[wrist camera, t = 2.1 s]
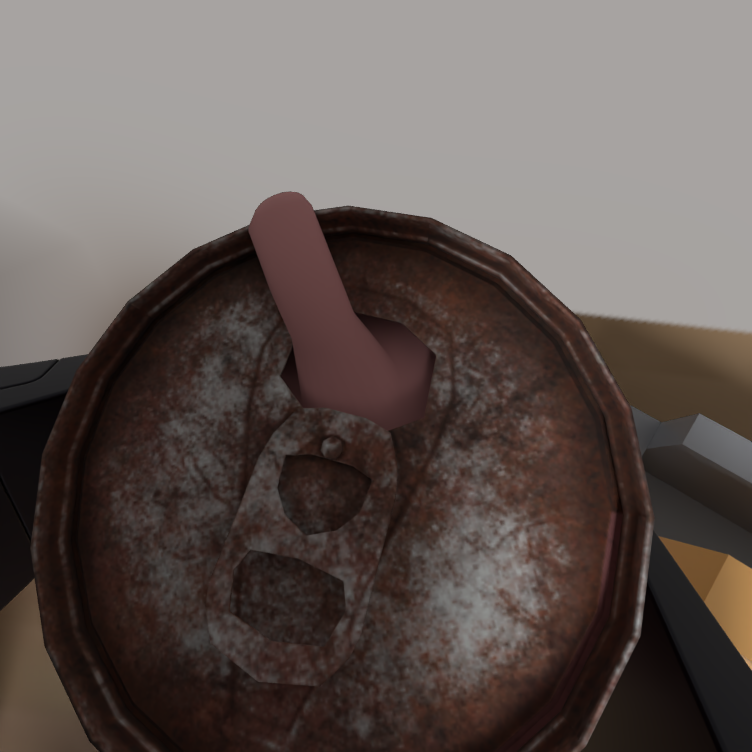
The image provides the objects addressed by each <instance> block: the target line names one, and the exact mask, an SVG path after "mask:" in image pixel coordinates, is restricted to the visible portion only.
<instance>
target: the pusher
mask: <svg viewBox="0 0 752 752" xmlns="http://www.w3.org/2000/svg"><path fill="white" fill-rule="evenodd" d="M658 537H659V538H660V540H661V541H662V542H663V544H664V545H665V547H666V548H667V550H668V551H669V552H670V554H671V555H672V557H673V558H674V560H675V561H676V563H677V564H678V565H679V567H680V568H681V570H682V571H683V573H684V574H685V575H686V577H687V578H688V580H689V581H690V583H691V584H692V585H693V587H694V588H695V590H696V591H697V593H698V594H699V596H700V597H701V598H702V600H703V601H704V603H705V604H706V606H707V607H708V608H709V610H710V611H711V613H712V614H713V616H714V617H715V618H716V620H717V621H718V623H719V624H720V626H721V627H722V628H723V630H724V631H725V633H726V634H727V636H728V637H729V639H730V640H731V641H732V643H733V644H734V646H735V647H736V649H737V650H738V651H739V653H740V654H741V656H742V657H743V659H744V660H745V661H746V663H747V664H748V666H749V667H750V669H751V670H752V569H751V568H750V567H748V566H746V565H745V564H743V563H742V562H740V561H738V560H737V559H735V558H733V557H732V556H730V555H728V554H724V553H720V552H717V551H713V550H709V549H705V548H702V547H698V546H694V545H690V544H687V543H683V542H679V541H675V540H671V539H668V538H664V537H660V536H658Z"/></svg>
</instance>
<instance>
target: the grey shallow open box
mask: <svg viewBox="0 0 752 752" xmlns="http://www.w3.org/2000/svg"><path fill="white" fill-rule="evenodd" d="M630 407H631V408H632V412H633V417H634V422H635V426H636V431H637V436H638V441H639V446H640V450H641V455H642V460H643V465H644V470H645V474H646V479H647V484H648V489H649V494H650V498H651V503H652V508H653V513H654V518H655V519H654V527H653V530H654V531H655V532H656V534H657V535H658V536H660V537H664V538H668V539H671V540H675V541H679V542H683V543H687V544H690V545H694V546H698V547H702V548H705V549H709V550H713V551H717V552H720V553H724V554H728V555H730V556H732V557H733V558H735V559H737V560H738V561H740V562H742V563H743V564H745V565H746V566H748V567H750V568H751V569H752V442H751V441H750V440H748V439H746V438H744V437H742V436H740V435H739V434H737V433H735V432H733V431H731V430H729V429H727V428H726V427H724V426H722V425H720V424H718V423H716V422H714V421H713V420H711V419H709V418H707V417H705V416H703V415H702V414H700V413H699V414H694V415H690V416H686V417H682V418H678V419H673V420H669V421H665V422H660V421H658V420H656V419H654V418H653V417H651V416H649V415H647V414H645V413H644V412H642V411H640V410H638V409H636V408H635V407H633V406H630Z"/></svg>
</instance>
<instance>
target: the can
mask: <svg viewBox="0 0 752 752" xmlns="http://www.w3.org/2000/svg"><path fill="white" fill-rule="evenodd" d="M654 519H655V518H654V513H653V508H652V503H651V498H650V494H649V489H648V484H647V479H646V474H645V470H644V465H643V460H642V455H641V450H640V446H639V441H638V436H637V431H636V426H635V422H634V417H633V412H632V408H631V407H630V405H629V403H628V401H627V400H626V398H625V396H624V394H623V393H622V391H621V389H620V387H619V386H618V384H617V382H616V380H615V379H614V377H613V375H612V373H611V372H610V370H609V368H608V366H607V365H606V363H605V361H604V359H603V358H602V356H601V354H600V352H599V351H598V349H597V347H596V345H595V344H594V342H593V340H592V338H591V337H590V335H589V333H588V331H587V330H586V328H585V326H584V324H583V323H582V321H581V319H579V318H578V317H577V316H576V315H575V314H574V313H573V312H572V311H571V310H570V309H569V308H568V307H566V306H565V305H564V304H563V303H562V302H561V301H560V300H559V299H558V298H557V297H555V296H554V295H553V294H552V293H551V292H550V291H549V290H548V289H547V288H546V287H545V286H544V285H543V284H541V283H540V282H539V281H538V280H537V279H536V278H535V277H534V276H533V275H532V274H531V273H529V272H528V271H527V270H526V269H525V268H524V267H523V266H522V265H521V264H519V263H518V261H516V260H515V259H514V258H513V257H512V256H511V255H509V254H507V253H504V252H502V251H500V250H498V249H496V248H494V247H492V246H490V245H488V244H485V243H483V242H481V241H479V240H477V239H475V238H472V237H470V236H468V235H466V234H464V233H462V232H460V231H458V230H455V229H453V228H451V227H449V226H447V225H445V224H443V223H441V222H439V221H437V220H435V219H432V218H428V217H420V216H414V215H408V214H401V213H393V212H387V211H381V210H374V209H367V208H360V207H354V206H343V207H336V208H329V209H321V210H313V207H312V205H311V204H310V203H309V202H308V201H307V200H306V198H305V197H304V196H303V195H302V194H300V193H297V192H282V193H279V194H276V195H273V196H271V197H270V198H268V199H266V200H265V201H263V202H262V203H261V204H260V205H259V206H258V208H257V209H256V210H255V213H254V216H253V218H252V221H251V223H250V225H248V226H246V227H243V228H241V229H239V230H236V231H234V232H232V233H230V234H227V235H225V236H223V237H220V238H218V239H216V240H213V241H211V242H209V243H207V244H205V245H202V246H200V247H198V248H195V249H193V250H192V251H190V252H189V253H188V254H187V255H185V256H184V257H183V258H182V259H180V260H179V261H178V262H177V263H176V264H174V265H173V266H172V267H170V268H169V269H168V270H167V271H165V272H164V273H163V274H161V275H160V276H159V277H158V278H156V279H155V280H154V281H153V282H151V283H150V284H149V285H148V286H146V287H145V288H144V289H143V290H142V291H140V292H139V293H138V294H137V295H135V296H134V297H133V298H131V299H130V300H129V301H128V302H127V303H126V304H125V306H124V307H123V309H122V310H121V311H120V313H119V314H118V315H117V317H116V318H115V319H114V321H113V322H112V323H111V325H110V326H109V327H108V329H107V330H106V331H105V333H104V334H103V335H102V337H101V338H100V339H99V341H98V342H97V343H96V345H95V346H94V347H93V349H92V350H91V352H90V353H89V354H88V355H87V357H86V358H85V359H84V361H83V362H82V363H81V365H80V366H79V367H78V369H77V370H76V372H75V375H74V377H73V380H72V382H71V385H70V387H69V390H68V392H67V394H66V397H65V399H64V402H63V404H62V407H61V409H60V412H59V414H58V417H57V419H56V422H55V424H54V426H53V429H52V431H51V434H50V436H49V439H48V441H47V444H46V446H45V449H44V451H43V453H42V460H41V468H40V476H39V484H38V491H37V499H36V507H35V515H34V523H33V531H32V538H31V546H30V550H31V556H32V563H33V570H34V577H35V584H36V591H37V597H38V604H39V611H40V618H41V625H42V631H43V638H44V645H45V648H46V650H47V653H48V655H49V657H50V659H51V661H52V663H53V665H54V667H55V669H56V672H57V674H58V676H59V678H60V680H61V682H62V684H63V686H64V689H65V691H66V693H67V695H68V697H69V699H70V701H71V703H72V705H73V708H74V710H75V712H76V714H77V716H78V718H79V720H80V722H81V724H82V727H83V729H84V731H85V733H86V735H87V737H88V739H89V741H90V742H91V743H92V744H93V745H94V746H95V747H96V748H97V750H98V751H99V752H580V751H581V750H582V749H583V748H585V747H586V745H587V743H588V741H589V739H590V737H591V735H592V733H593V731H594V729H595V727H596V725H597V723H598V721H599V719H600V717H601V715H602V713H603V711H604V709H605V707H606V705H607V703H608V701H609V699H610V697H611V695H612V693H613V691H614V689H615V686H616V684H617V682H618V680H619V678H620V676H621V674H622V672H623V670H624V668H625V666H626V664H627V662H628V660H629V658H630V656H631V654H632V652H633V650H634V648H635V646H636V644H637V642H638V640H639V638H640V636H641V628H642V619H643V611H644V603H645V594H646V586H647V578H648V569H649V561H650V552H651V544H652V536H653V527H654Z"/></svg>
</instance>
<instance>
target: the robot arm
mask: <svg viewBox="0 0 752 752" xmlns="http://www.w3.org/2000/svg"><path fill="white" fill-rule="evenodd" d="M87 355H88V354H87ZM87 355H81V356H74V357H68V358H62V359H60V360H57V359H55V360H48V361H42V362H35V363H28V364H20V365H14V366H6V367H0V611H1V610H2V609H3V608H4V607H5V606H6V605H7V604H8V603H9V602H10V601H11V600H12V599H13V598H14V597H15V596H16V595H17V594H18V593H19V592H20V591H21V590H23V589H24V588H25V587H26V586H27V585H28V584H29V583H30V582H31V581H32V580H33V579H34V578H35V577H34V570H33V563H32V556H31V550H30V546H31V538H32V531H33V523H34V515H35V507H36V499H37V491H38V484H39V476H40V468H41V460H42V453H43V451H44V449H45V446H46V444H47V441H48V439H49V436H50V434H51V431H52V429H53V426H54V424H55V422H56V419H57V417H58V414H59V412H60V409H61V407H62V404H63V402H64V399H65V397H66V394H67V392H68V390H69V387H70V385H71V382H72V380H73V377H74V375H75V372H76V370H77V369H78V367H79V366H80V365H81V363H82V362H83V361H84V359H85V358H86V357H87ZM580 752H752V670H751V669H750V667H749V666H748V664H747V663H746V661H745V660H744V659H743V657H742V656H741V654H740V653H739V651H738V650H737V649H736V647H735V646H734V644H733V643H732V641H731V640H730V639H729V637H728V636H727V634H726V633H725V631H724V630H723V628H722V627H721V626H720V624H719V623H718V621H717V620H716V618H715V617H714V616H713V614H712V613H711V611H710V610H709V608H708V607H707V606H706V604H705V603H704V601H703V600H702V598H701V597H700V596H699V594H698V593H697V591H696V590H695V588H694V587H693V585H692V584H691V583H690V581H689V580H688V578H687V577H686V575H685V574H684V573H683V571H682V570H681V568H680V567H679V565H678V564H677V563H676V561H675V560H674V558H673V557H672V555H671V554H670V552H669V551H668V550H667V548H666V547H665V545H664V544H663V542H662V541H661V540H660V538H659V537H658V535H657V534H656V532H655V531H654V530H653V536H652V544H651V552H650V561H649V569H648V578H647V586H646V594H645V603H644V611H643V619H642V628H641V636H640V638H639V640H638V642H637V644H636V646H635V648H634V650H633V652H632V654H631V656H630V658H629V660H628V662H627V664H626V666H625V668H624V670H623V672H622V674H621V676H620V678H619V680H618V682H617V684H616V686H615V689H614V691H613V693H612V695H611V697H610V699H609V701H608V703H607V705H606V707H605V709H604V711H603V713H602V715H601V717H600V719H599V721H598V723H597V725H596V727H595V729H594V731H593V733H592V735H591V737H590V739H589V741H588V743H587V745H586V747H585V748H583V749H582V750H581V751H580Z"/></svg>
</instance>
